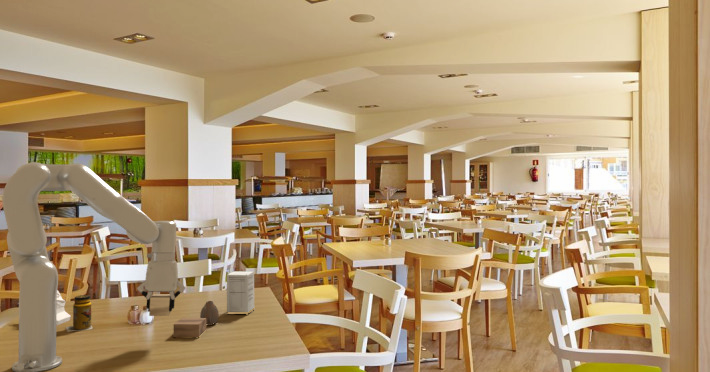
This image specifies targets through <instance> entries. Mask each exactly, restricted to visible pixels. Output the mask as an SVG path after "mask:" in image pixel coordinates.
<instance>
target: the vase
mask: <svg viewBox="0 0 710 372" xmlns="http://www.w3.org/2000/svg"><path fill="white" fill-rule="evenodd" d="M218 309H219V308H218V307H217V306H216V305H215V303H214V301H213V300H207V301H206V302H205V304H204V305H203V307H202V308H201V310H200V313H199V318H206V324H213V323H215V324H216V323H217V322H218V320H219V315H220V313H219V310H218Z"/></svg>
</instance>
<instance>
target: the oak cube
mask: <svg viewBox="0 0 710 372" xmlns="http://www.w3.org/2000/svg"><path fill="white" fill-rule="evenodd" d="M170 298H171V296H170V293H168V294H161V293H160V294H153V293H152V295H151V297H150V312H149V314H148V317H169V316H170V314H171V312H172V311H169V304H170Z"/></svg>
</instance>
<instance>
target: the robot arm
mask: <svg viewBox="0 0 710 372" xmlns="http://www.w3.org/2000/svg"><path fill="white" fill-rule="evenodd" d="M46 191H47V192H52V191H53V192H62V191H63V192H65V191H67V192H68V191H71V193H73V194H74V195H76V197H78V198H79V199H80V200H81V201H83V202H84V203H86V205H88V206H89V207H90V208H91V209H92V210H93V211H95V212H96V213H97V214H99V215H101V216H102V217H104V218H106V219H108V220H110V221H111V222H114V223H115V224H116V225H118V226H119V227H121V228H123V230H125V232H126V235H127V238H128V239H130V241H133V242H135V243H139V244H141V245H142V244H143V245H149V244H151V252H150V253H147V254H146V258H149V259H150V260H149V261H148V263H147V267H146V271H145V272H146V273H145V279H144V281H142V283H141V284H139V286H137V287H136V289H137V291H138V292H139V293H141V295H142V296H143V297H144V298H145V299H146V309H147V311H148V312H150V297H151V296H152V295H153V293H154V292H155V293H156V292H157V293H160V292H161V293H168V294H170V296H171V298H170V304H169V311H171V312H172V311H173V309H175V301H176V300H175V299H176V298H178V297H179V295H180V294H182V293H183V292H184V291H185V290H186V286H185V285H183V283H182V282H181V281H180V280H179V272H178V271H179V270H178V262H177V261H176V245H177V244H176V241H177V223H176V222H175V221H172V220H156V221H153V220H152V219H151V218H150V217H149V216H148V215H147V214H145V213H144V212H143V211H142V210H140V209H139V208H138V207H136V206H135V204H133V203H131V202H130V201H128V200H127V199H126V198H125V197H124V196H122V195H121V194H119V192H117V191H116V190H115V189H114V188H113V187H112V186H110V185H109V183H107V182H105V181H104V180H103V179H102V178H101V177H100V176H99V175H98V174H96V173H95V171H93V169H91V168H89V167H88V166H86V165H85V164H83V163H82V164H81V163H71V164H55V163H54V164H52V163H51V164H48V163H40V162H37V161H32V162H27V163H25V164H22V165H20V166H19V167H18V168H17V169H16V170H15V172H14V173H13V174H12V175H11V177H10V178H9V179H8V181H7V182H6V184H5V187H4V188H3V192H2V198H1V199H2V200H1V201H2V209H3V212H4V217H5V223H6V226H7V229H8V232H7V235H6V242H7V247H8V252H9V254H10V260H11V262H12V266H13V269H14V273H15V276H16V278H17V281H19V294H18V295H19V296H18V361H15V362H14V363H12V365H11V370H12V371H13V372H43V371H47V370H51V369H55V368H56V367H59V366H60V365H62V362H63V357H61V356H59V355H57V325H56V313H57V311H56V305H57V290H58V288H59V287H58V286H59V272H58V270H57V269H58V268H57V267H56V265H55V264H54V263H53V262H52V261H50V258H49V255H48V254H49V253H48V250H47V246H46V245H47V241H48V237H47V233H46V231H45V228H44V224H43V221H42V217H41V214H40V209H39V204H38V197H39V195H40V193H41V192H46ZM177 288H179V289H178V290H177Z"/></svg>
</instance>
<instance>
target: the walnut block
mask: <svg viewBox="0 0 710 372" xmlns="http://www.w3.org/2000/svg"><path fill="white" fill-rule="evenodd" d="M205 330H206V331H207V325H206V318H200V317H182V318H180V319H179V320H177V321H176V322H174V323H173V337H199V336H200V335H201V334H202V333H203V332H204V331H205ZM173 337H172V338H173ZM199 338H200V337H199Z"/></svg>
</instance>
